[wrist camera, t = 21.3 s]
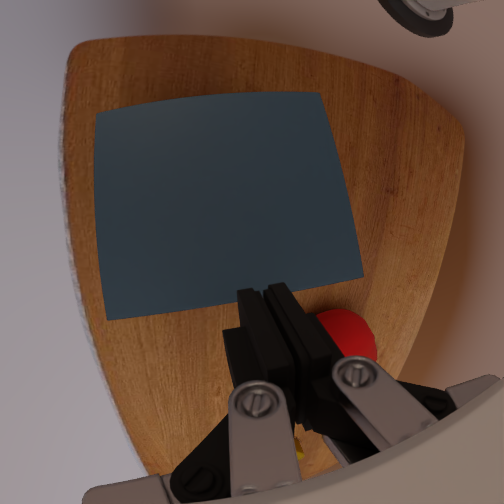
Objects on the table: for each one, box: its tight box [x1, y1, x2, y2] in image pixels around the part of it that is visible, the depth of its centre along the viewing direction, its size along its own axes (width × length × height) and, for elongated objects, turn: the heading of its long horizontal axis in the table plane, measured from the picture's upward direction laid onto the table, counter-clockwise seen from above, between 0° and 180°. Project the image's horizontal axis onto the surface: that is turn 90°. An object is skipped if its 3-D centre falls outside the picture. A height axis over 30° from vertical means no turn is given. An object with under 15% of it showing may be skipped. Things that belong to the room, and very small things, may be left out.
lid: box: [94, 92, 364, 320], centre depth 17 cm, size 13×15×1 cm
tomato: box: [316, 309, 377, 362], centre depth 38 cm, size 12×12×11 cm
